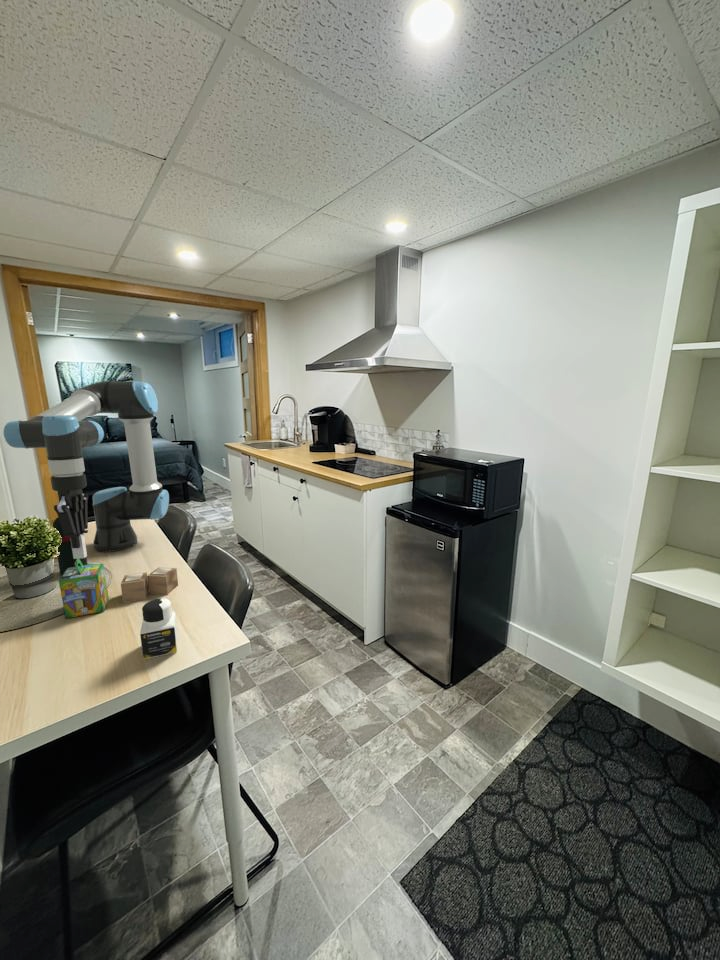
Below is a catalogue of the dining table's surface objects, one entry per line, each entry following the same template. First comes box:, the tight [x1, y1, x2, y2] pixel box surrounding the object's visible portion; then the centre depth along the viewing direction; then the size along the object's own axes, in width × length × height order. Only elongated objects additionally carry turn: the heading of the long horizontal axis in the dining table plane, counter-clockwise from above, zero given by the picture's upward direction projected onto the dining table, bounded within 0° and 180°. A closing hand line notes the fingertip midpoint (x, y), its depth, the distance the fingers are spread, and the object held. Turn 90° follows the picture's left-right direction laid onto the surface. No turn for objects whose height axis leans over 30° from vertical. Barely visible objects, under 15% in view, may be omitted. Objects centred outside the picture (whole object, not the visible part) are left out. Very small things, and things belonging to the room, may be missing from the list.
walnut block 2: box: [147, 567, 179, 596], centre depth 122 cm, size 6×6×6 cm
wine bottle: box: [51, 491, 89, 577], centre depth 131 cm, size 8×10×30 cm
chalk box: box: [58, 558, 109, 620], centre depth 110 cm, size 9×9×15 cm
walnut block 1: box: [120, 572, 149, 603], centre depth 118 cm, size 6×6×6 cm
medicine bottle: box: [139, 598, 179, 661], centre depth 93 cm, size 7×7×12 cm
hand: (80, 557), depth 108 cm, fingers closed
